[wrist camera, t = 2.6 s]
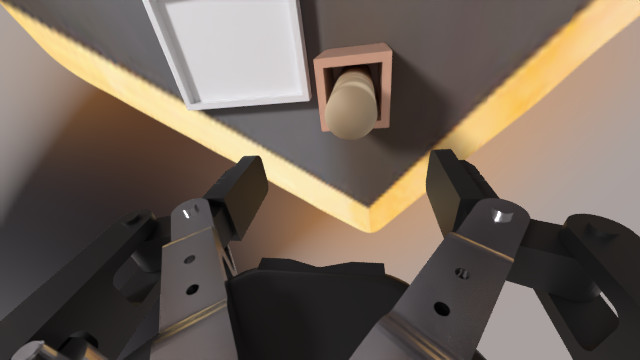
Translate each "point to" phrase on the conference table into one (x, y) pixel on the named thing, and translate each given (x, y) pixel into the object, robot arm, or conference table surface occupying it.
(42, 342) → the robot arm
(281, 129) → the conference table surface
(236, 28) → the tray
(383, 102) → the pink open-ended box
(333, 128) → the dowel pin
